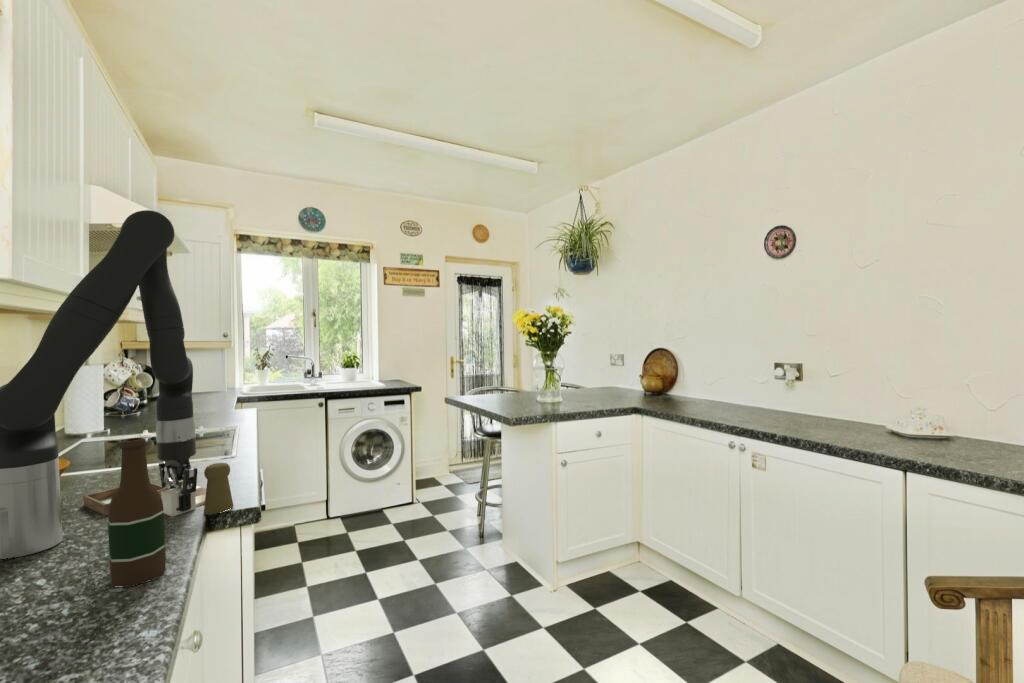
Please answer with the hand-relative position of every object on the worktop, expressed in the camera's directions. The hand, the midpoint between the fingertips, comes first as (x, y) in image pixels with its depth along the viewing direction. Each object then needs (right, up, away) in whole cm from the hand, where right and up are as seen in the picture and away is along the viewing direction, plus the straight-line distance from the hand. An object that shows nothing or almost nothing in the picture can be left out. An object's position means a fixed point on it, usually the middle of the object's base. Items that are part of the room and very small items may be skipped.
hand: (179, 507), depth 110 cm
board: (-6, -1, +12) cm, 13 cm away
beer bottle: (+15, -1, -30) cm, 33 cm away
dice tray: (-18, -1, +7) cm, 19 cm away
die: (0, -1, 0) cm, 1 cm away
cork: (+9, -1, 0) cm, 9 cm away
